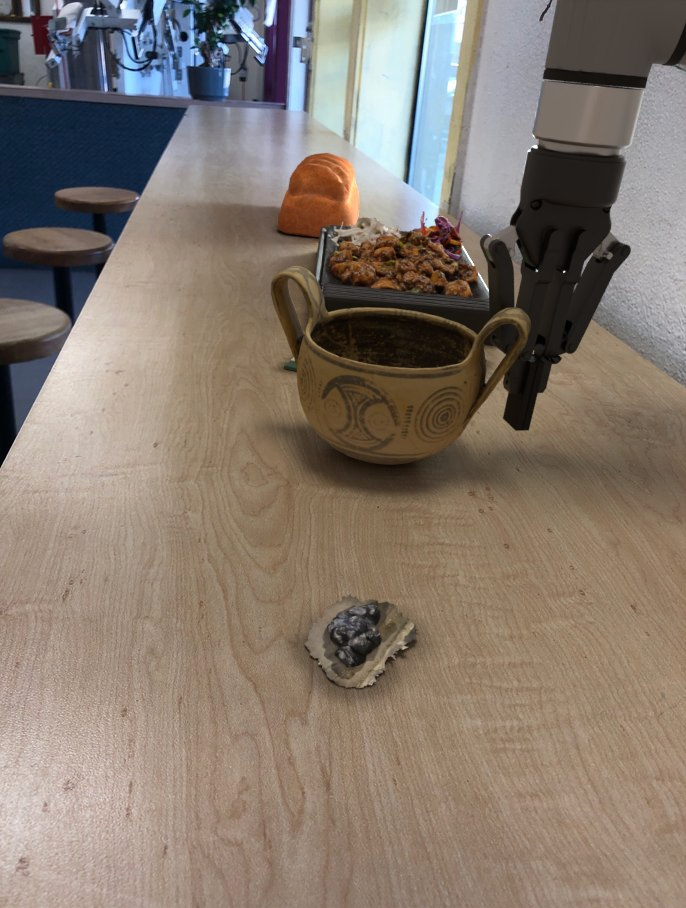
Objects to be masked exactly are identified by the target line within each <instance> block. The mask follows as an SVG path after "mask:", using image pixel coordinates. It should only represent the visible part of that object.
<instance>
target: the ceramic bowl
mask: <svg viewBox="0 0 686 908" xmlns="http://www.w3.org/2000/svg"><path fill="white" fill-rule="evenodd" d="M290 280H292V281H293V282H294V283H296V285H297V287H298V288H299V290H300V291H301V293H302V294H303V297H304V300H305V303H306V305H307V310H308V311H307V312H308V319H307V325H306V327H305V331H304V330H303V326H302V324H301V321H300V317H299V315H298V312H297V309H296V306H295V304H294V301H293V298H292V296H291V292H290V286H289V281H290ZM270 296H271V300H272V305H273V307H274V310H275V312H276V315H277V317H278V321H279V323H280V325H281V328H282V330H283V333H284V335H285V336H284V337H285V338H286V341H287V345H288V347H289V349H290V351H291V354H292V358H294V359H295V364H296V368H297V371H296V385H297V391H298V398H299V403H300V406H301V408H302V411H303V413H304V415H305V418H306V420H307V422H308V423H309V424H310V426H311V427H312V429H313V430H314V432H315V433H316V434H317V435H318V436H319V437H320V439H322V440H323V441H324V442H325V443H326V444H327V445H329V446H330V447H332V448H334V450H336V451H337V452H340V453H341V454H343V455H345V456H347V457H349V458H352V459H355V460H359V461H362V462H365V463H369V464H377V465H387V466H390V465H391V466H393V465H402V464H410V463H413V462H414V463H415V462H418V461H420V460H421V461H422V460H425V459H427V458H430V457H432V456H434V455H436V454H438V453H440V452H441V451H442V450H444V449H445V448H447V447H448V446H450V445H451V444H453V443H454V442H455V441H456V440H457V439H458V438H459V437H461V435H463V433H464V431H465V430H466V428H467V427H468V425H469V423H470V422H471V420H472V419H473V417H474V416H475V414H476V413H477V412H478V411H479V409H480V408H481V407H482V406H483V404H484V403H485V402H486V401H487V399H488V398H489V397H490V396H491V394H492V393H493V391H494V390H495V389H496V387H497V386H498V384H499V383H500V381H502V379H503V378H504V375H505V373H506V372H507V371H508V369H509V368H510V367H511V365H512V364H513V363H514V361H515V360H516V359H517V357H518V356H519V354H520V353H521V351H522V350H523V348H524V347H525V345H526V342H527V339H528V335H529V333H530V327H531V322H530V319H529V317H528V315H527V314H526V313H525V312H524V311H523V310H522V309H520V308H514V307H512V308H505V309H504V310H502V311H500V312H498V313H497V314H496V315H494V316H493V317H492V318H491V319H490V320H489V321H488V322H487V324H486V325H485V326H484V327H483V329H482V330H481V331H480V332H479V334H478V335H477V334H476V333H475V332H474V331H472V330H470V329H469V328H466V326H464V325H462V324H459V323H457V322H454V321H451V320H448V319H445V318H442V317H439V316H434V315H430V314H426V313H421V312H416V311H409V310H402V309H394V308H368V307H365V308H350V309H341V310H336V311H332V312H327V310H326V308H325V302H324V297H323V292H322V290H321V287H320V285H319V283H318V281H317V279H316V278H315V276H314V273H313V272H311V271H310V270H308V269H307V268H306V267H303V266H300V265H292V266H289V267H288V268H285V269H284V270H281V271H280V272H279V273H277V274H276V275H275V276H274V277H273V278H272V280H271V283H270ZM503 324H512V325H514V326H515V327H516V328H517V330H518V331H519V337H518V339H517V340H516V341H515V343H514V344H513V346H512V347H511V349H510V350H509V351H508V353H507V354H505V356H504V357H503V358H502V360H501V361H500V363H499V364H498V365H497V367H496V368H495V369H494V370H493V372H492V374H491V375H490V376H489V378H488V380H487V381H486V377H487V362H486V360H487V359H486V352H485V345H484V340H485V339H486V337H487V336H488V335H489V334H490V333H491V332H492V331H493V330H495V329H496V328H497V327H498V326H500V325H503Z"/></svg>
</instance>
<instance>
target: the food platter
mask: <svg viewBox="0 0 686 908" xmlns="http://www.w3.org/2000/svg"><path fill="white" fill-rule="evenodd" d="M463 214H464V210H463V209H462V210H461V211H460V216H459V218H458V221H457V224H456V226H454V225H452V223H451V222H450V220H448V218H447V217H445V216H442V215H440V214H438V215H437V216H436V217H435V219H434V224H435V225H429V226H428V227H427V226H425V225H426V221H427V220H428V218H427V217H426V218H425V211H424V210H422V214H421V216H420V227H419V228H417V227H415V228H414V229H411V230H408V231H407V230H401V228H399V226H398V225H396V226H392V227H389V228H388V227H386V226H385V223H383V222H381V221H380V220H378V218H376V217H368V216H365V217H364V216H362V217H358V219H357V221H356V224H355V225H351V224H349V226H342V225H343V222H342V225H329V227H321V229H320V236H319V237H318V242H317V243H318V244H317V250H316V256H315V264H314V269H313V270H314V271H313V275H314V276H315V278H316V279H317V281H318V283H319V285H320V287H321V290H322V292H323V297H324V302H325V308H326V310H327V312H332V311H336V310H341V309H350V308H365V307H368V308H394V309H402V310H409V311H416V312H421V313H426V314H430V315H434V316H439V317H442V318H445V319H448V320H451V321H454V322H457V323H459V324H462V325H464V326H466V328H469V329H470V330H472V331H474V332H475V333H476V334H477V335H478V334H479V332H480V331H481V330H482V329H483V327H484V326H485V325H486V324H487V322H488V321H489V320H490V314H489V289H488V286H487V284H486V283H485V281H484V279H483V278H482V276H481V275H480V272H479V268H478V267H477V266H476V265H475V264H474V263H473V261H472V259H471V257H470V255H469V254H468V252H467V251H466V249H465V247H464V246H463V242H464V241H463V240H462V237H461V236H460V227H461V220H462V217H463ZM484 346H494V345H493V344H492V343H491V339H490V334H489V335H488V336H487V337H486V339H485V340H484Z"/></svg>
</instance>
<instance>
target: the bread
mask: <svg viewBox="0 0 686 908" xmlns="http://www.w3.org/2000/svg"><path fill="white" fill-rule="evenodd" d="M287 188H288V189H286V191H285V194H284V196H283V200H282V203H281V205H280V208H279V211H278V215H277V219H276V225H277V230H278V231H280V232H282V233H284V234H288V235H293V236H294V235H295V236H303V237H313V238H319V236H320V229H321V227H329V225H342V222H343V225H342V226H349V224H351V225H355V224H356V221H357V219H358V218H359V214H360V210H361V209H360V208H361V207H360V194H359V188H358V186H357V183H356V172H355V169H354V165H353V164H352V163H351V162H350V161H349V160H348V159H346V158H344V157H341V156H338V155H335V154H333V153H329V152H321V153H320V152H319V153H313V154H310V155H308V156H306V157H304V159H303V160H301V162H300V163H299V164H298V165H297V166H296V168H295V169H294V170H293V171H292V173H291V175H290V177H289V181H288V187H287Z"/></svg>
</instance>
